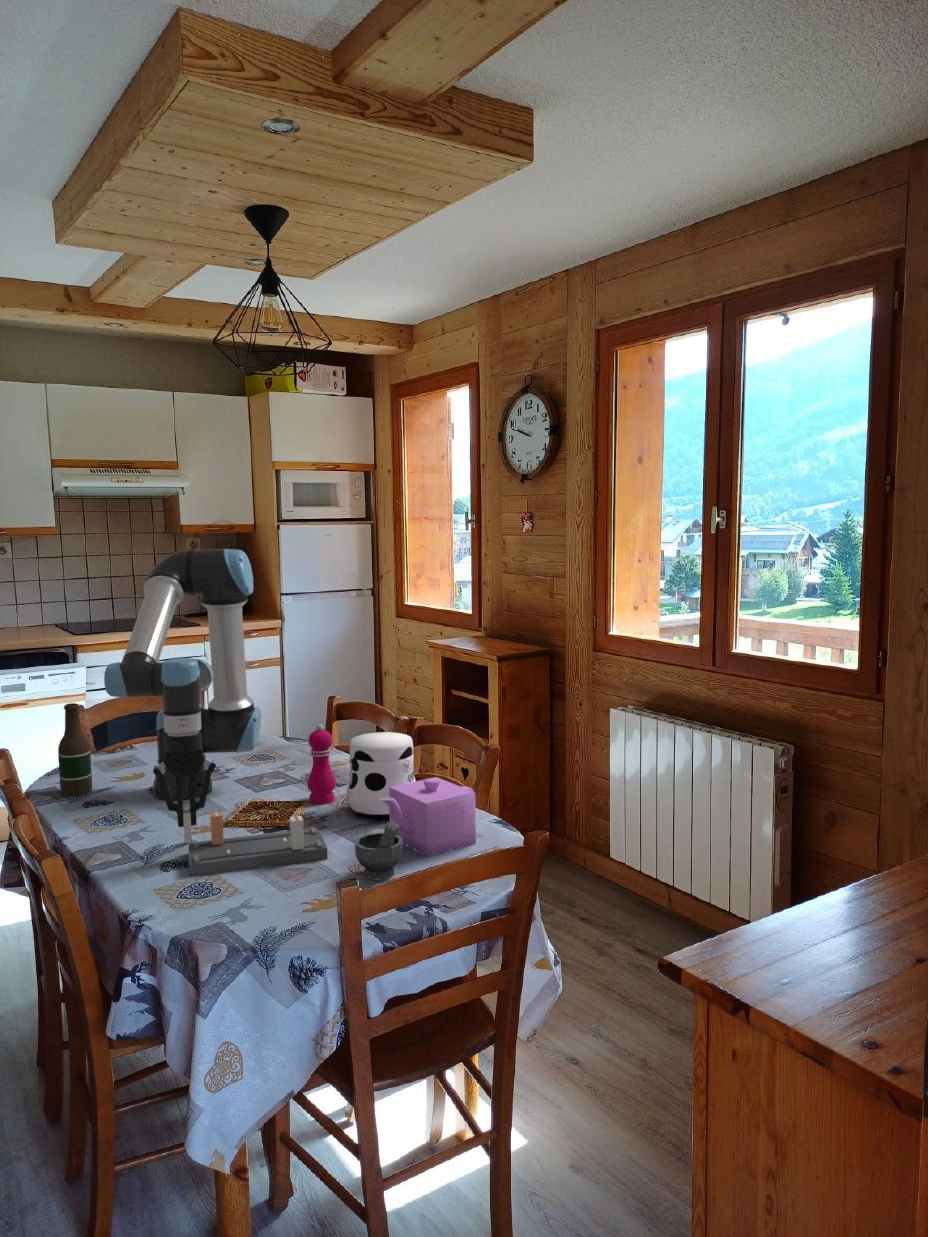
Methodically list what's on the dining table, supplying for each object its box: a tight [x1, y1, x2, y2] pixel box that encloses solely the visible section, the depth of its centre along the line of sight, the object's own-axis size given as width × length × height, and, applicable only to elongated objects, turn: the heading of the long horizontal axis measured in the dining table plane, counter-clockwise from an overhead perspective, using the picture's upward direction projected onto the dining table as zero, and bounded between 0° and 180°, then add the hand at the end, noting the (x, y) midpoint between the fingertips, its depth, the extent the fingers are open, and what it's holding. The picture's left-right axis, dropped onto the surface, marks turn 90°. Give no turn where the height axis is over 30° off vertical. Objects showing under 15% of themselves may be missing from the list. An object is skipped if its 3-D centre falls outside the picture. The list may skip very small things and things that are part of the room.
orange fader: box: [209, 811, 225, 845], centre depth 191 cm, size 3×2×6 cm
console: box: [187, 826, 328, 877], centre depth 190 cm, size 13×28×3 cm, turn 108°
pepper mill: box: [306, 723, 337, 805], centre depth 227 cm, size 7×7×20 cm
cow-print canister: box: [346, 731, 417, 818], centre depth 218 cm, size 17×17×18 cm
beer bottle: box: [57, 702, 93, 797], centre depth 236 cm, size 8×8×24 cm
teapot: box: [379, 776, 477, 858], centre depth 198 cm, size 15×25×14 cm, turn 126°
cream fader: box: [289, 815, 305, 850], centre depth 188 cm, size 3×2×6 cm
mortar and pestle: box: [354, 821, 403, 880], centre depth 179 cm, size 11×9×12 cm
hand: (188, 840), depth 190 cm, fingers closed
